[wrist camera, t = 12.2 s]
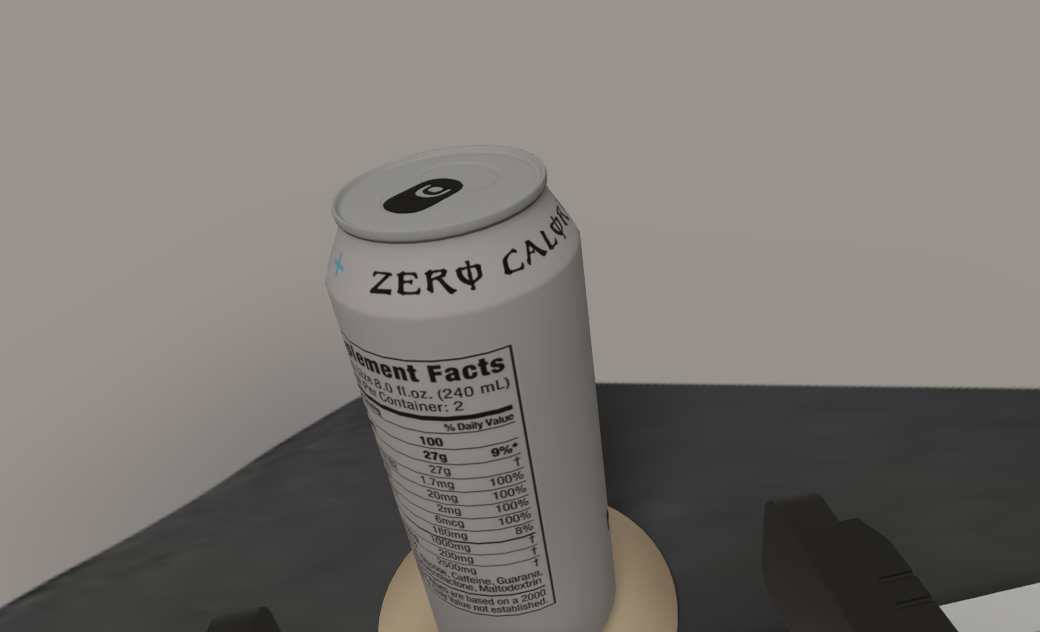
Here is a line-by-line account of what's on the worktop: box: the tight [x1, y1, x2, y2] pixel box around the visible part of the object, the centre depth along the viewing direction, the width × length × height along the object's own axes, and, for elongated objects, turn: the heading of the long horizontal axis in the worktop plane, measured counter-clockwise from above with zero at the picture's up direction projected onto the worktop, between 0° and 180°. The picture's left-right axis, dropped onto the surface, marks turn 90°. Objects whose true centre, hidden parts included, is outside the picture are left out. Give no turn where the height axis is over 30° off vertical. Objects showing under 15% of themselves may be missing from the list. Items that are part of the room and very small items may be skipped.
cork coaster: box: [378, 506, 678, 632], centre depth 24 cm, size 10×10×1 cm
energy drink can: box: [325, 145, 616, 632], centre depth 20 cm, size 6×6×15 cm
